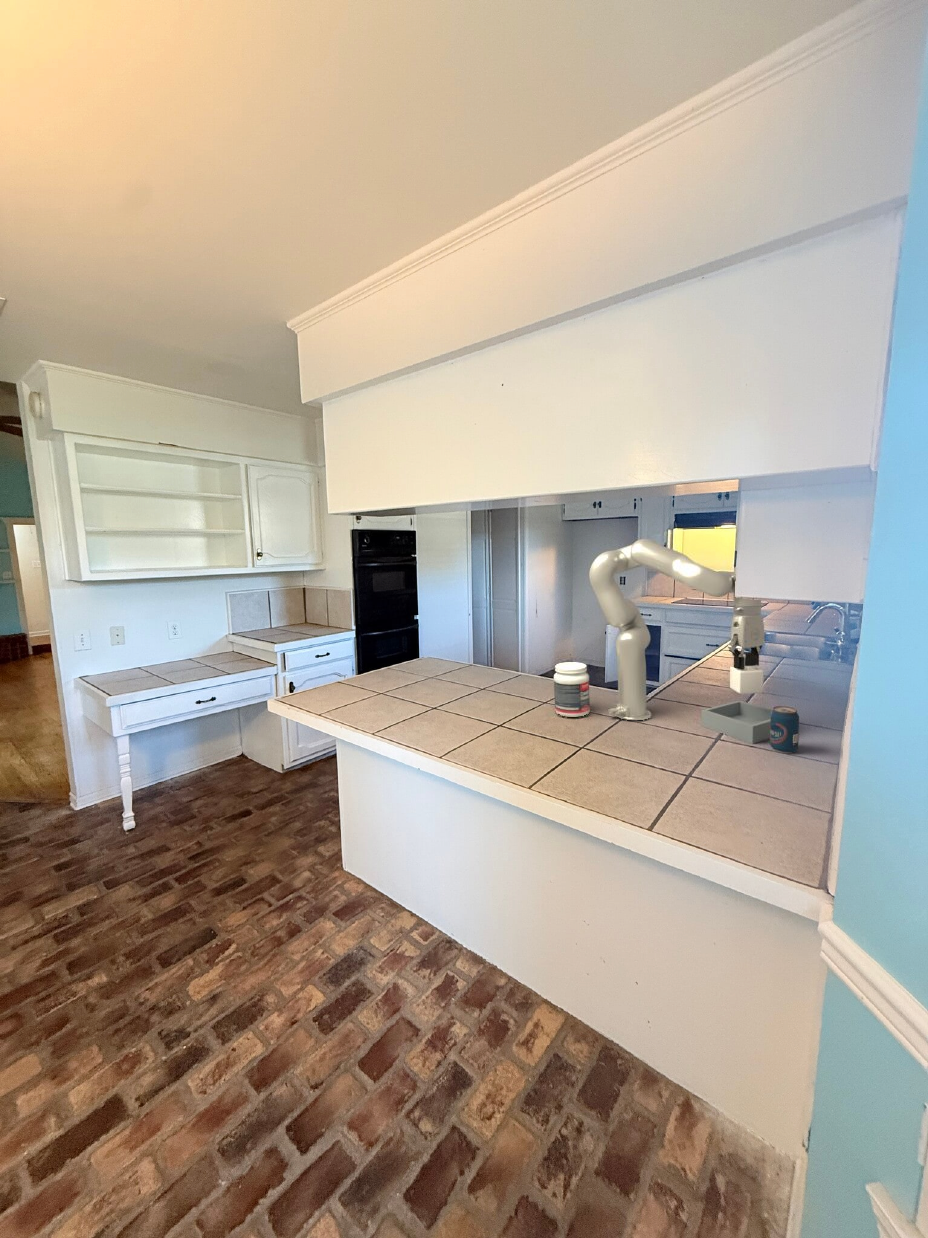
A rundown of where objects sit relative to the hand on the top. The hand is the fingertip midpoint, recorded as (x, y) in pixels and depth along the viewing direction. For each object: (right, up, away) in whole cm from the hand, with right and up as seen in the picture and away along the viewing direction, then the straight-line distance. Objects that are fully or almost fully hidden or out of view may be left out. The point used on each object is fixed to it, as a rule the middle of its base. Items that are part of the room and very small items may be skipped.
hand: (746, 666), depth 155 cm
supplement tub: (-49, -20, +28) cm, 60 cm away
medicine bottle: (+1, -8, +1) cm, 8 cm away
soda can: (+3, -23, -14) cm, 27 cm away
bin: (+1, -20, +3) cm, 21 cm away
